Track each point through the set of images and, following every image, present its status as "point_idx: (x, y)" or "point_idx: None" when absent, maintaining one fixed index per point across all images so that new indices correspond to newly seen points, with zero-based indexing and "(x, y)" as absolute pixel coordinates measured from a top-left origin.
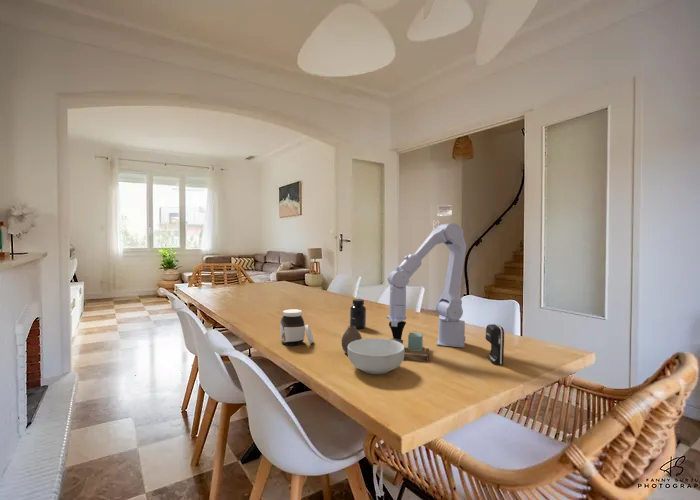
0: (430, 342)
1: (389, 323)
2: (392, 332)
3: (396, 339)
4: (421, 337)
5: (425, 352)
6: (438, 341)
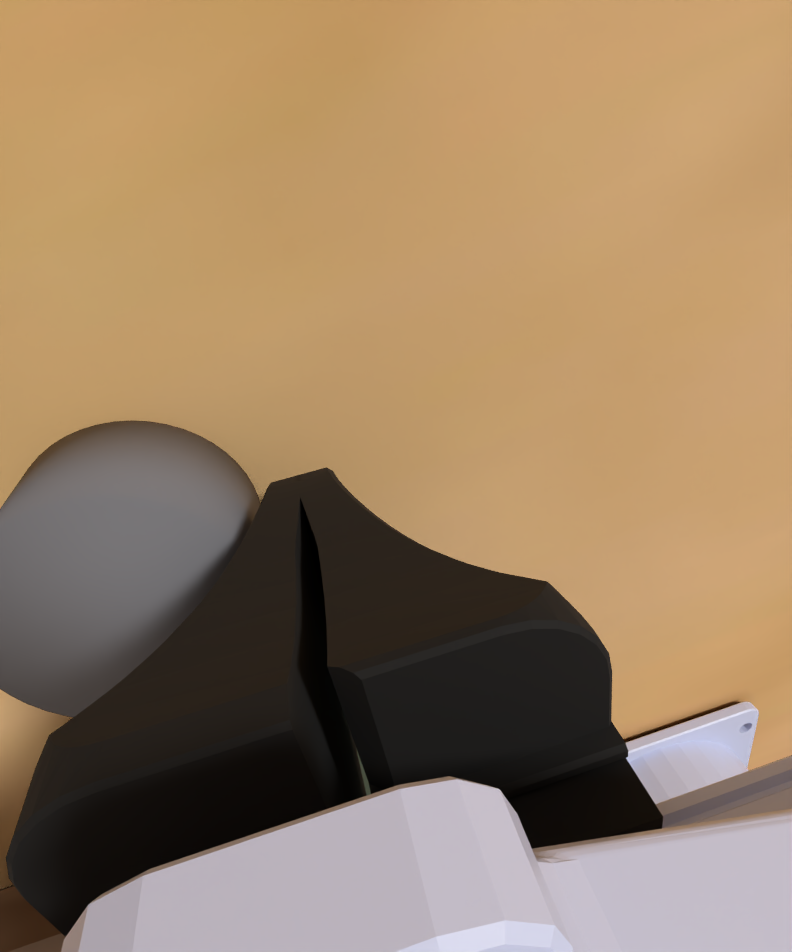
0: (640, 685)
1: (18, 835)
2: (209, 599)
3: (199, 600)
4: None
5: (55, 938)
6: (646, 753)
